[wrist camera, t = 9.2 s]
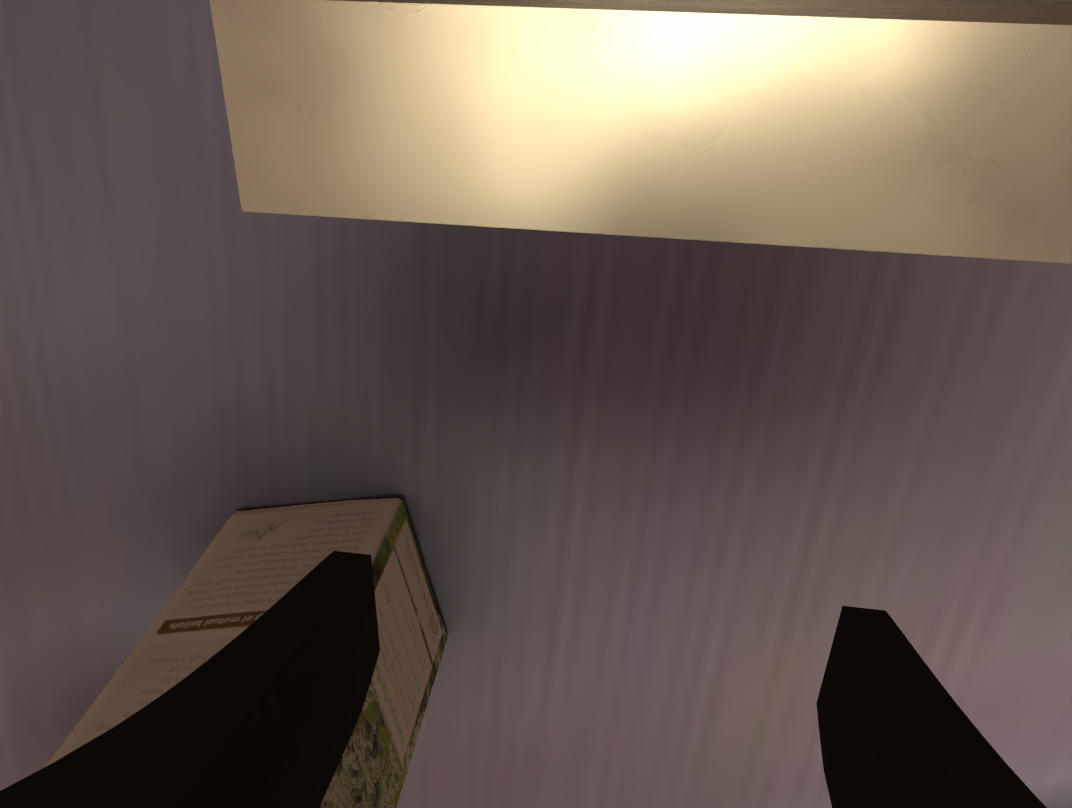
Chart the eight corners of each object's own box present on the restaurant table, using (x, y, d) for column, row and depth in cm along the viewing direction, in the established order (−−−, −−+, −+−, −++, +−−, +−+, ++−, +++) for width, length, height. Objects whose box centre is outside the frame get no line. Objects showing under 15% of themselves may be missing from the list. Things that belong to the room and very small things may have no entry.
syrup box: (228, 506, 25) (-213, 1070, 12) (411, 489, 24) (126, 1097, 11) (290, 646, 28) (-25, 1230, 15) (459, 637, 26) (270, 1266, 14)
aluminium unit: (1147, -58, 15) (1460, -61, 9) (1059, 209, 18) (1262, 344, 12) (317, -77, 17) (124, -90, 11) (340, 168, 20) (192, 268, 13)
